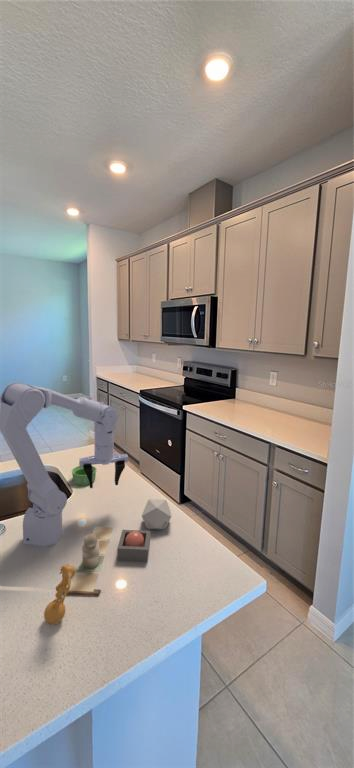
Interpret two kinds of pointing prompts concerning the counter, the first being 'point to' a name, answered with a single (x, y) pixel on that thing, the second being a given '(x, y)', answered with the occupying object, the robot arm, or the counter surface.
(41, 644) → the counter surface
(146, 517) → the die
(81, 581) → the board
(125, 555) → the frame
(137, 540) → the popper dome
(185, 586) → the counter surface
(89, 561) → the pawn
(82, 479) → the ramekin
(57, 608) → the figurine
